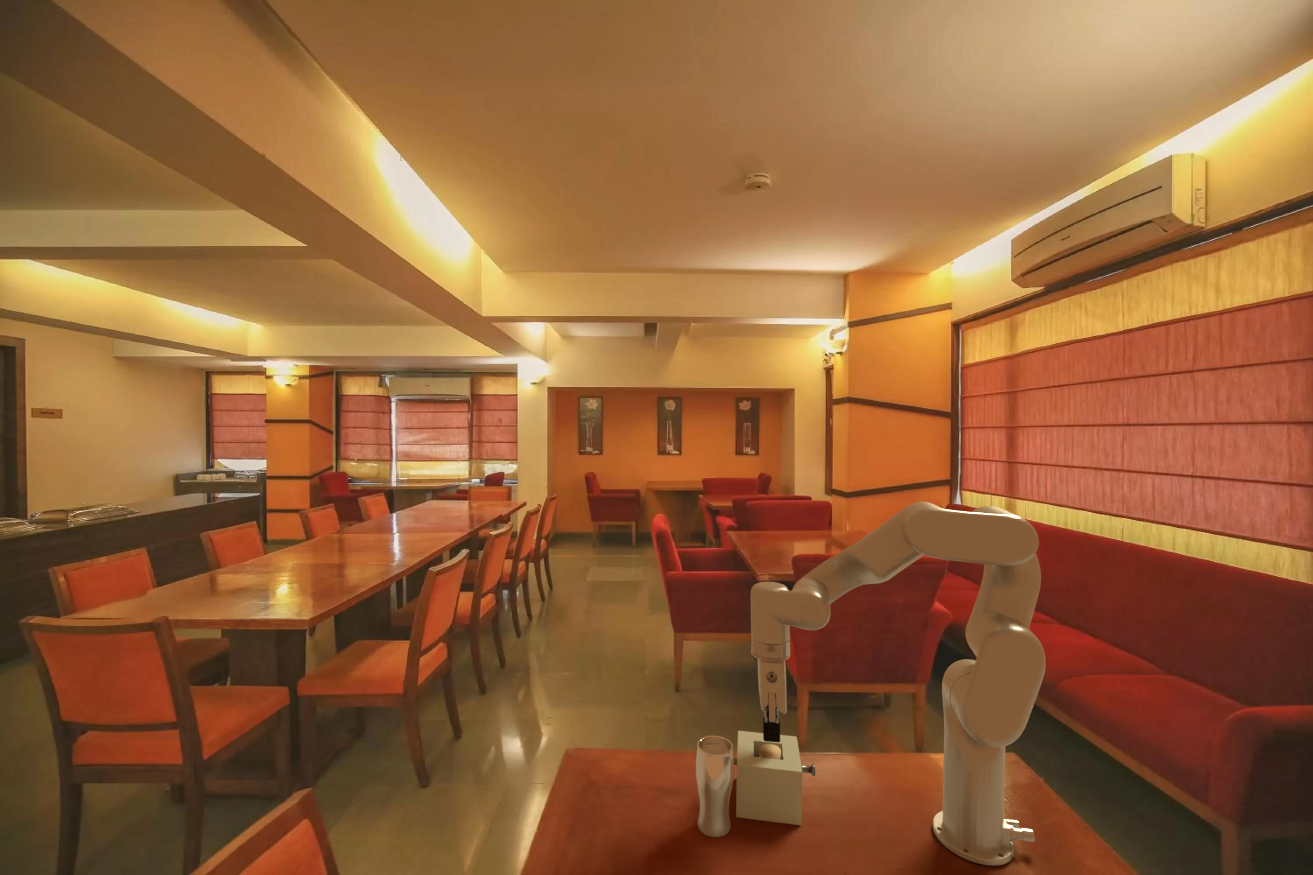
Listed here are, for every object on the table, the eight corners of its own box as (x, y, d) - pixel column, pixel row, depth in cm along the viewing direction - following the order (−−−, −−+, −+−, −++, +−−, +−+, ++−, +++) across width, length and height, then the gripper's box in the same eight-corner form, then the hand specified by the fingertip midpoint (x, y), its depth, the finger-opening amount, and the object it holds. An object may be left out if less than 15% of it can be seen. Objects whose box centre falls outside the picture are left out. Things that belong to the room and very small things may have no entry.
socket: (795, 784, 114) (796, 736, 114) (801, 825, 102) (802, 771, 102) (737, 777, 116) (738, 730, 116) (736, 816, 104) (736, 764, 104)
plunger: (781, 776, 107) (781, 763, 107) (780, 768, 109) (780, 756, 109) (815, 779, 106) (815, 767, 106) (813, 772, 108) (814, 760, 108)
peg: (780, 794, 110) (780, 744, 110) (782, 808, 106) (781, 757, 106) (759, 792, 111) (759, 743, 111) (760, 806, 107) (759, 755, 107)
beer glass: (731, 842, 97) (732, 758, 97) (692, 835, 99) (693, 753, 99) (734, 815, 104) (735, 737, 104) (697, 809, 106) (698, 732, 105)
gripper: (793, 663, 100) (794, 763, 100) (787, 634, 115) (788, 721, 115) (751, 661, 102) (752, 759, 102) (751, 632, 116) (752, 718, 116)
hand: (771, 739), depth 108 cm, fingers closed
